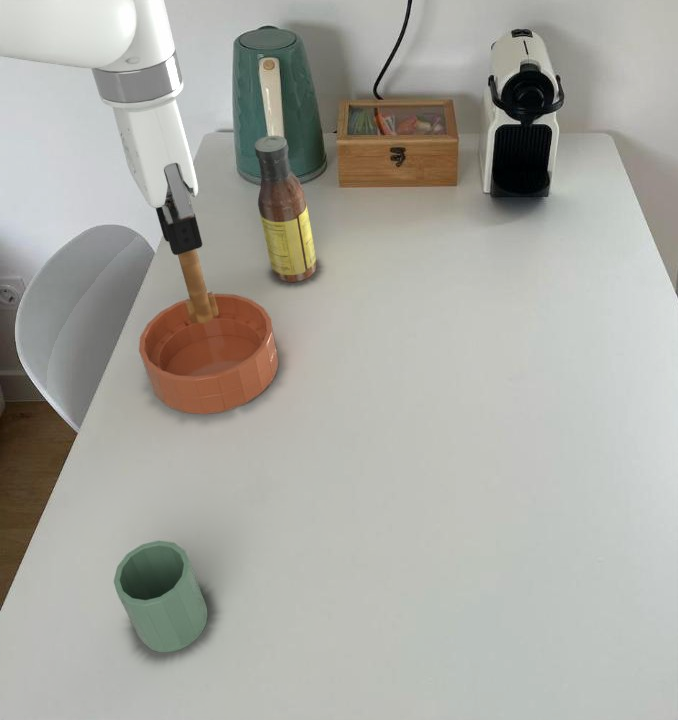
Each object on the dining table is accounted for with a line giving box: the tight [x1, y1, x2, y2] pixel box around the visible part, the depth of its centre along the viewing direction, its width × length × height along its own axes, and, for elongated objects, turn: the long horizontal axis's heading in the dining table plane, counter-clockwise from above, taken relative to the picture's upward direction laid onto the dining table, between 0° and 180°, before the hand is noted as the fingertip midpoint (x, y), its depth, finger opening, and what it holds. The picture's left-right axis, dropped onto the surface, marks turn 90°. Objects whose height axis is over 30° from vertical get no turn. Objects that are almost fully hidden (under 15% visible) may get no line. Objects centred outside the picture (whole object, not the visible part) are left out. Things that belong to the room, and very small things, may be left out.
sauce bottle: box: [254, 135, 317, 283], centre depth 106 cm, size 6×6×20 cm
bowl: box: [138, 293, 279, 415], centre depth 96 cm, size 15×15×6 cm
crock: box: [113, 540, 208, 653], centre depth 71 cm, size 6×6×8 cm
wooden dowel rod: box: [168, 202, 219, 324], centre depth 87 cm, size 3×2×16 cm, turn 118°
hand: (183, 242), depth 86 cm, fingers closed on wooden dowel rod, 2 cm apart
